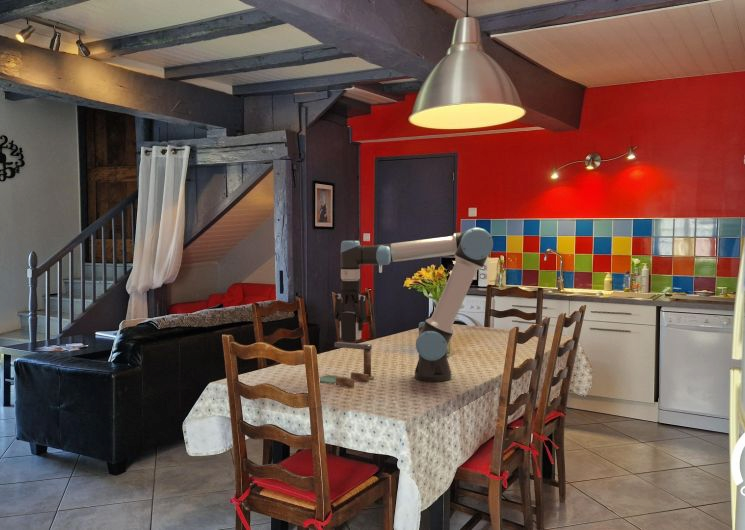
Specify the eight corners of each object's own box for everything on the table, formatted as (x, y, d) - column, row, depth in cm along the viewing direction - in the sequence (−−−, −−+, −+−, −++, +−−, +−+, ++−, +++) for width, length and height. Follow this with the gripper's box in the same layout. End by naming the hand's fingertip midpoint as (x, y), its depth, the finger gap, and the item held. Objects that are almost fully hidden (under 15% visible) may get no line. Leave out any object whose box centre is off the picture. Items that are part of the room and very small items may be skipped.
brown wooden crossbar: (368, 350, 258) (368, 346, 258) (333, 347, 266) (333, 342, 266) (373, 349, 261) (373, 344, 261) (338, 345, 269) (338, 341, 269)
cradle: (379, 378, 261) (378, 350, 260) (352, 387, 245) (352, 358, 244) (362, 376, 265) (362, 348, 265) (335, 385, 249) (335, 356, 249)
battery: (360, 340, 251) (360, 311, 251) (355, 342, 248) (355, 312, 248) (345, 339, 255) (345, 310, 254) (340, 340, 252) (340, 311, 251)
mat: (347, 379, 259) (347, 377, 259) (332, 384, 251) (332, 382, 251) (328, 376, 265) (328, 374, 265) (312, 381, 257) (312, 379, 257)
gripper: (324, 279, 253) (324, 337, 254) (366, 281, 242) (366, 341, 243) (335, 278, 259) (335, 334, 260) (376, 280, 248) (376, 338, 249)
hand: (350, 337), depth 251 cm, fingers closed on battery, 7 cm apart
